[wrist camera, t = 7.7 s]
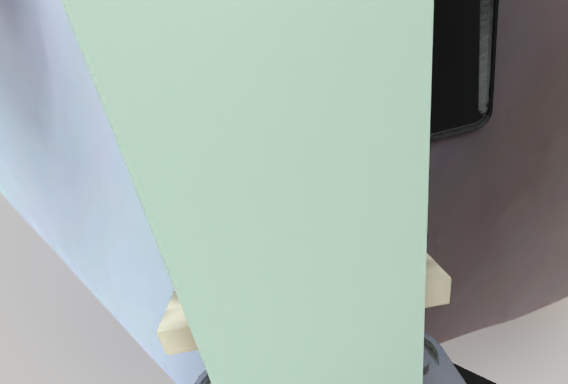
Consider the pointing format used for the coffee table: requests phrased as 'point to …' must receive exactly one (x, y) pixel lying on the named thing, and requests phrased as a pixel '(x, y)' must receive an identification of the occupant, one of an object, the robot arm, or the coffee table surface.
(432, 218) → the coffee table surface
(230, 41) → the mint green slab
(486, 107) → the phone
